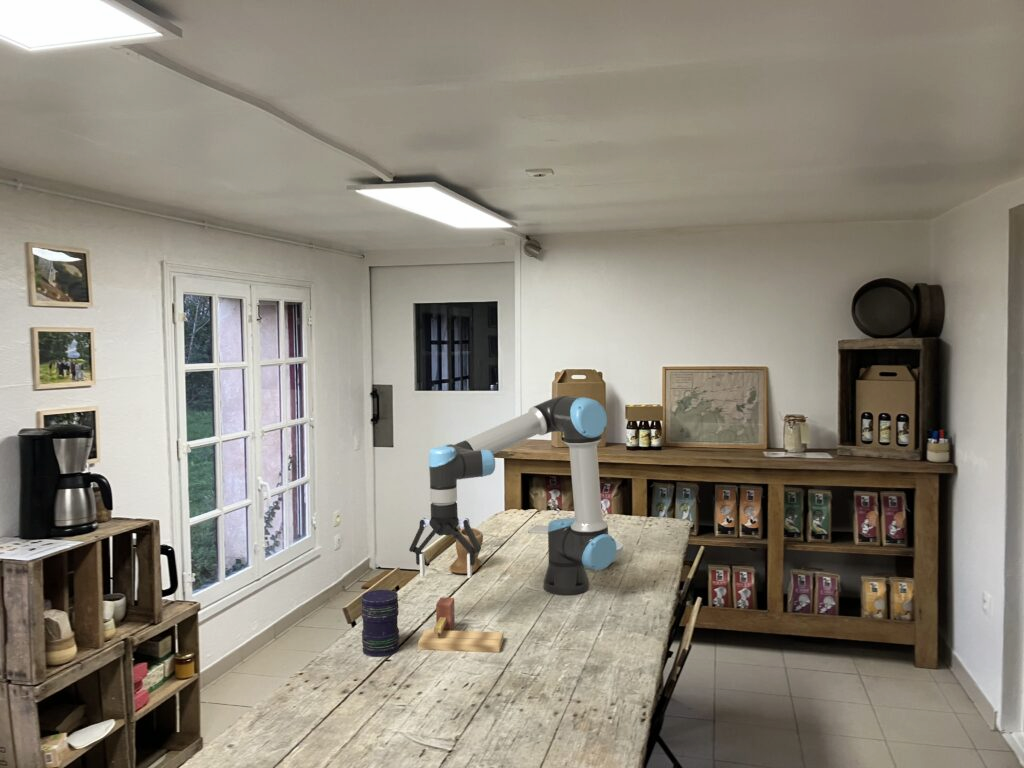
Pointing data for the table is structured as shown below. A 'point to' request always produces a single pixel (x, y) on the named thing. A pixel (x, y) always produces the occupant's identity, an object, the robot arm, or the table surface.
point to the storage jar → (380, 623)
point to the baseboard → (539, 529)
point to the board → (461, 641)
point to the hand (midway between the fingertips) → (446, 576)
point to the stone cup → (461, 561)
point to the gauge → (444, 615)
